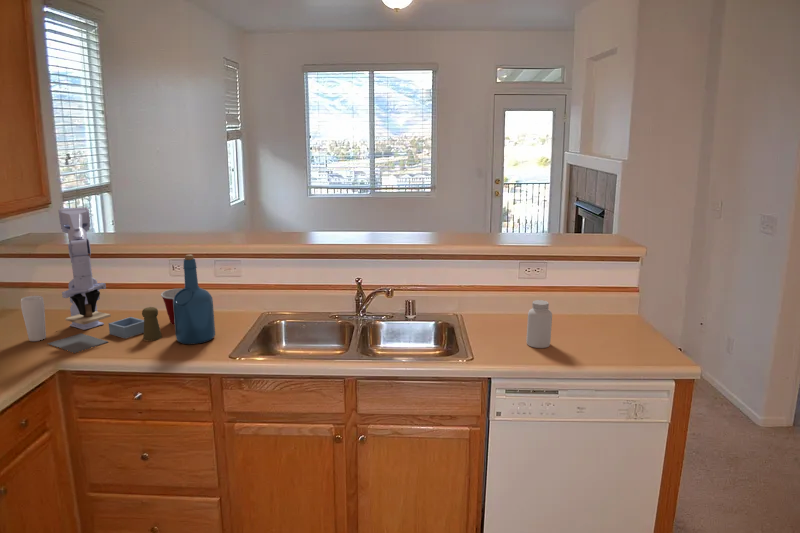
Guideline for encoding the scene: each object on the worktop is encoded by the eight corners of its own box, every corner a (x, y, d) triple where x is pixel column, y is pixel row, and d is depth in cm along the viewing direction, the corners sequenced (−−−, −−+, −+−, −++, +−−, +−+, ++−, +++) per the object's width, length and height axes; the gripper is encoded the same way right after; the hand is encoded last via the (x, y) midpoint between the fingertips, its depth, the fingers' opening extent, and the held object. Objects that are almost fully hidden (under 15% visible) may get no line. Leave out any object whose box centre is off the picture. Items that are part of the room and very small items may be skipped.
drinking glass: (53, 337, 214) (47, 296, 210) (34, 343, 208) (28, 301, 204) (40, 335, 216) (34, 294, 213) (21, 341, 210) (15, 299, 207)
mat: (47, 344, 207) (47, 343, 207) (81, 334, 217) (81, 333, 217) (74, 353, 199) (74, 352, 199) (108, 342, 209) (108, 341, 209)
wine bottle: (192, 330, 220) (185, 250, 214) (223, 335, 216) (217, 252, 209) (166, 343, 208) (158, 257, 201) (198, 347, 204) (191, 260, 197)
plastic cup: (166, 329, 223) (163, 297, 220) (161, 321, 232) (158, 290, 229) (196, 324, 228) (194, 293, 225) (190, 316, 237) (188, 287, 234)
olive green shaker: (155, 341, 210) (152, 310, 207) (139, 340, 211) (136, 309, 209) (165, 335, 216) (162, 305, 213) (149, 334, 217) (146, 304, 214)
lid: (65, 320, 207) (63, 306, 206) (92, 312, 215) (90, 299, 214) (84, 324, 202) (82, 310, 201) (110, 316, 211) (109, 303, 210)
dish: (109, 334, 217) (108, 323, 216) (132, 327, 225) (131, 316, 224) (125, 338, 213) (124, 327, 212) (147, 331, 220) (146, 320, 219)
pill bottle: (536, 350, 201) (539, 306, 197) (521, 342, 208) (523, 300, 204) (555, 346, 204) (557, 303, 201) (539, 339, 211) (541, 297, 208)
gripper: (68, 281, 197) (74, 320, 200) (109, 272, 209) (113, 309, 212) (56, 278, 201) (61, 317, 204) (97, 269, 213) (101, 306, 216)
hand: (87, 313), depth 208 cm, fingers closed on lid, 3 cm apart
